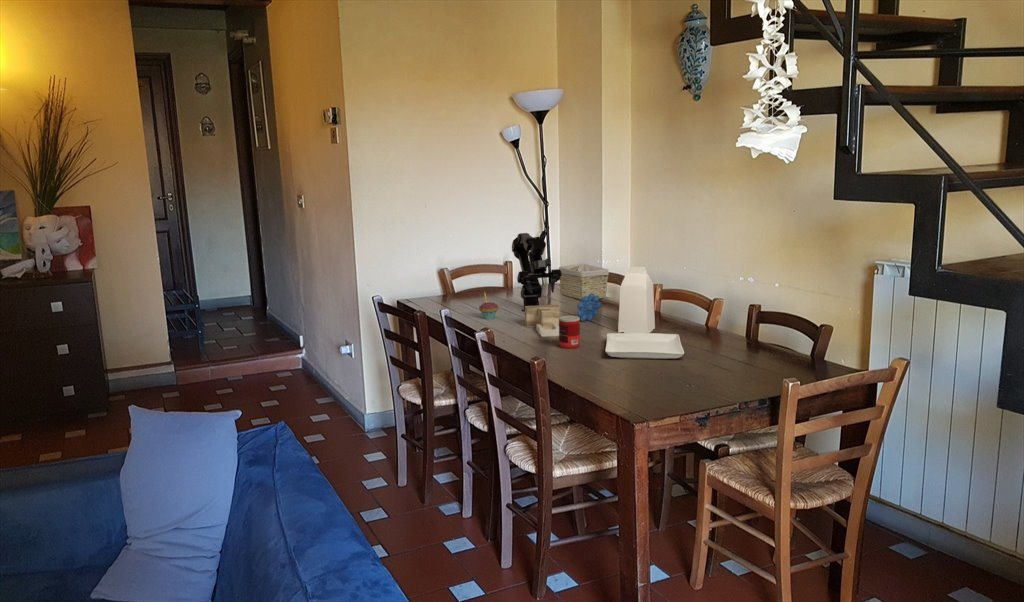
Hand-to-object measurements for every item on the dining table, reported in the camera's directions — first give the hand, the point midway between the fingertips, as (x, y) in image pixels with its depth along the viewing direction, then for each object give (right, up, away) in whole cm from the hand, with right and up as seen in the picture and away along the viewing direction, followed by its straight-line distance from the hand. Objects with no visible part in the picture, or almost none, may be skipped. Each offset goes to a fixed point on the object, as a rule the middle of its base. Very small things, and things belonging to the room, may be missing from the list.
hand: (542, 292), depth 325 cm
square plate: (+35, -22, -49) cm, 64 cm away
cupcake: (-23, -11, +11) cm, 28 cm away
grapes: (+20, -12, +1) cm, 23 cm away
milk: (+37, -15, -18) cm, 44 cm away
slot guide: (+2, -16, -19) cm, 25 cm away
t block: (0, -14, -9) cm, 17 cm away
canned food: (+8, -21, -41) cm, 47 cm away
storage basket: (+23, -1, +56) cm, 60 cm away
